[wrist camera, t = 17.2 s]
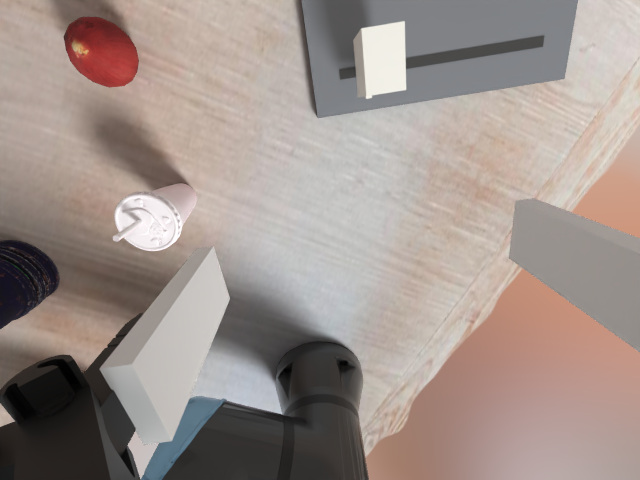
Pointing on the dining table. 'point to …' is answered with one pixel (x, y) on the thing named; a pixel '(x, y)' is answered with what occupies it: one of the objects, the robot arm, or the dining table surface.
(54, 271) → the storage jar
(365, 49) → the block
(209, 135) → the dining table surface
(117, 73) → the onion
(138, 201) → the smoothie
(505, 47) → the console
